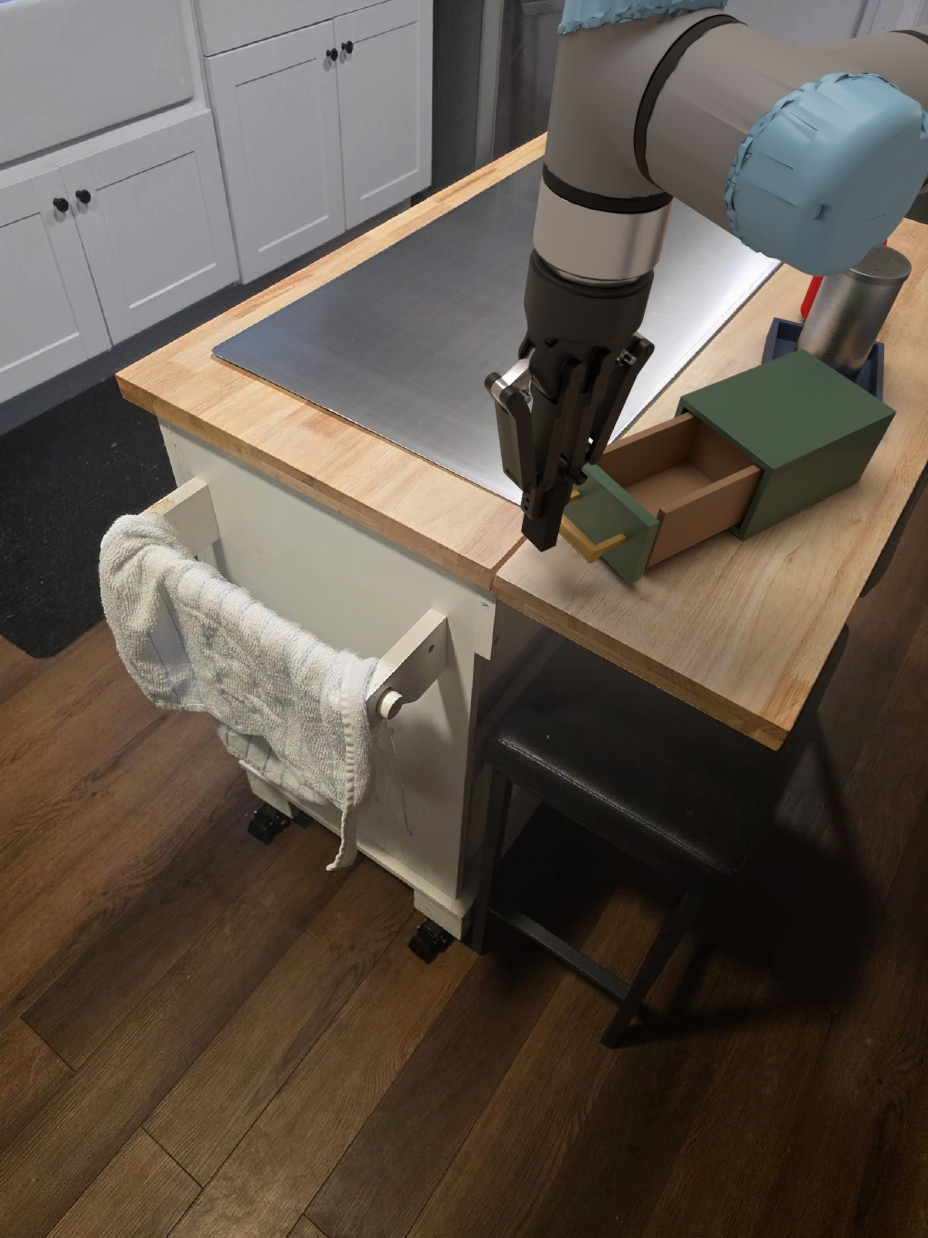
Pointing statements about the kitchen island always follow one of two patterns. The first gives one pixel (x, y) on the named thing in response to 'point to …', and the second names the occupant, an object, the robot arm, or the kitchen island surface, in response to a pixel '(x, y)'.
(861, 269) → the silver tall cylinder
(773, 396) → the cabinet
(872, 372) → the tray
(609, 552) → the drawer
